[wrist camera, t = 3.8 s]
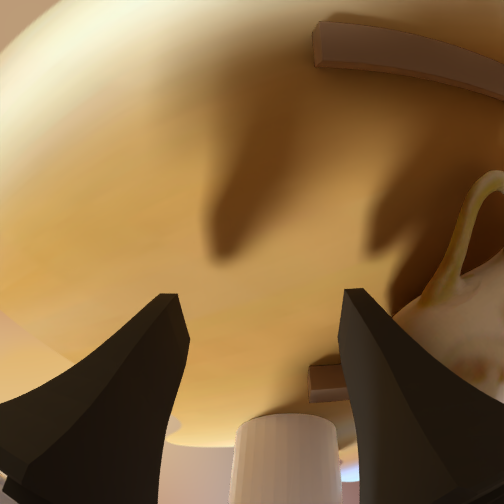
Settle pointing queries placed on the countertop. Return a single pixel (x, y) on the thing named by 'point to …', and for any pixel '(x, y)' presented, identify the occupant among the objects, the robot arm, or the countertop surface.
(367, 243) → the countertop surface
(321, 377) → the frame
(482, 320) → the mug
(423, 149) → the countertop surface
